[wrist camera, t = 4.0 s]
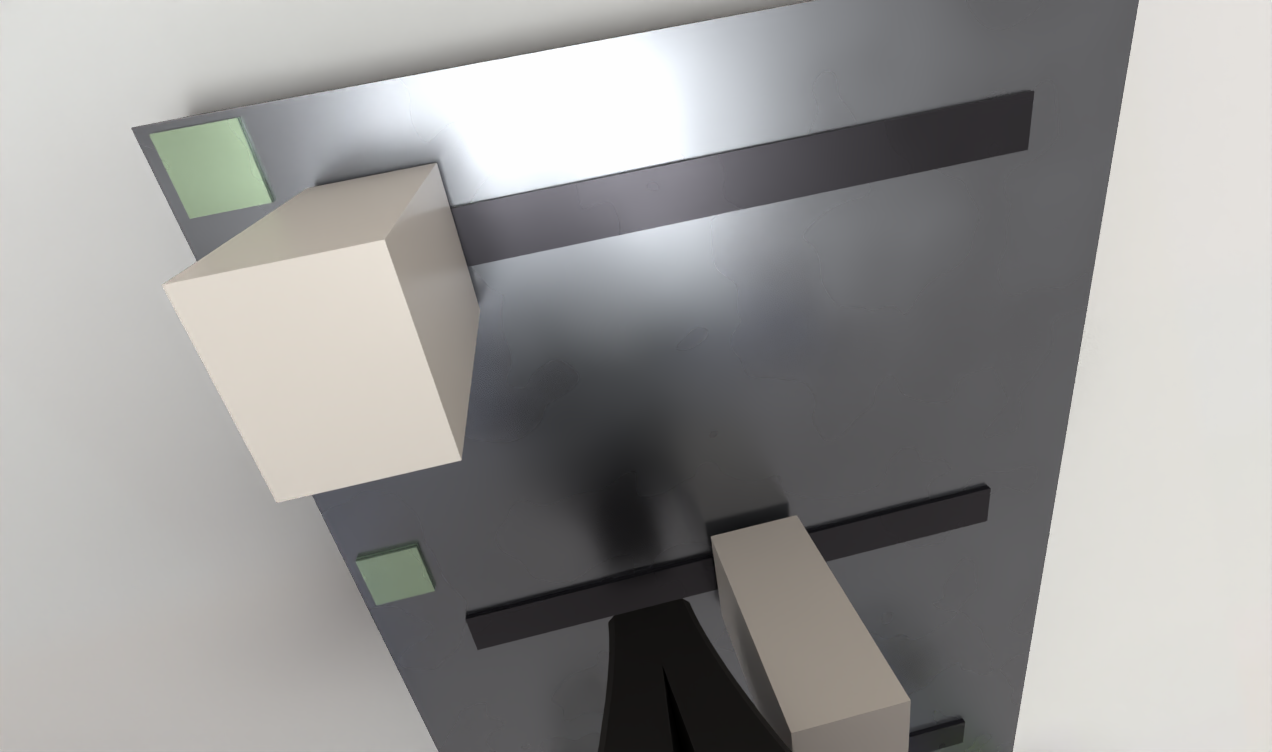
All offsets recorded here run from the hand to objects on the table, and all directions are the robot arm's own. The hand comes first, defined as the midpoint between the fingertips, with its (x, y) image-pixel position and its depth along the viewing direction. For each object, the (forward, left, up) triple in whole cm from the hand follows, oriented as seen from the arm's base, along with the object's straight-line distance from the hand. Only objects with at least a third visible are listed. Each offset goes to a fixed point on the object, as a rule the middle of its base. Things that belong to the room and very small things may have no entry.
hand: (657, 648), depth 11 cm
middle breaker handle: (+2, 0, -1) cm, 3 cm away
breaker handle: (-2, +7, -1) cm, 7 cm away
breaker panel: (+2, 0, -3) cm, 3 cm away
